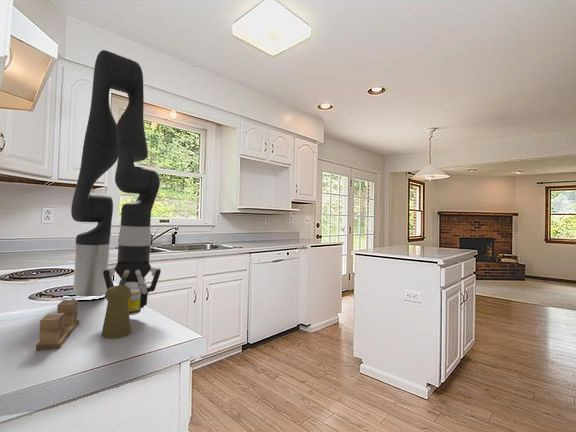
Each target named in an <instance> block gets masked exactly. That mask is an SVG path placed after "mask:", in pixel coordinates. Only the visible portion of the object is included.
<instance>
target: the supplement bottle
mask: <svg viewBox="0 0 576 432" xmlns="http://www.w3.org/2000/svg"><path fill="white" fill-rule="evenodd" d="M124 286H127V287H129V289H130V290H131V295H130V298H129V299H128V307H129V316H134V315H139V314H140V313H141V311H142V308H141V294H142V290H141V287H140V285H139V282H125V284H124Z"/></svg>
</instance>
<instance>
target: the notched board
mask: <svg viewBox="0 0 576 432" xmlns="http://www.w3.org/2000/svg"><path fill="white" fill-rule="evenodd" d="M78 302H79V301H78V300H74V299H63V300H61V302H59V303H58V304H57V311H56V312H54V313H46V315H44V316H43V317H42V318H41V319H40V320H39V334H38V335H39V336H38V343H37V344H36V345H35V351H43V350H45V351H46V350H55V349H56V350H58V349H59V350H60V348H61V347H62V346H63V345H64V343H65V342H66V340H68V338H69V337H70V335H71V334H72V333H73V332H74V330H75V329H76V328H77V327H78V326H79V324H80V319H78V305H79V303H78Z"/></svg>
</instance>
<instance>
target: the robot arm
mask: <svg viewBox="0 0 576 432" xmlns="http://www.w3.org/2000/svg"><path fill="white" fill-rule="evenodd" d="M92 78H93V79H92V91H91V92H92V93H91V102H90V110H89V115H88V120H87V126H86V130H85V136H84V141H83V146H82V152H81V161H80V166H79V167H80V169H79V174H78V178H77V183H76V186H75V190H74V194H73V196H72V197H73V198H72V202H71V206H70V207H71V210H70V213H71V217H72V220H73V221H75V222H77V223H97V225H96V226H95V227H94V228H92V229H91V230H90V229H89V230H87V231H85V232H81V233H79V234H77V235H76V237H75V247H74V248H75V252H74V253H75V255H74V271H73V273H74V275H73V277H74V278H73V291H72V292H73V293H72V295H73V294H74V295H76V296H102V295H106V291H107V289H108V288H110V287H113V286H115V285H114V281H113V276H114V274H115V273H116V274H117V276H119V277H120V280H119V282H118V285H117V286H124V284H125V282H139V285H140V287H141V290H142V294H141V309H143V308H145V306H147V304H148V294H149V293H151V292H154V291H155V290H156V288H157V284H158V281H159V278H160V275H161V272H162V270H161V268H160V267H157V268H156V267H152V265H151V264H150V258H151V257H150V256H151V255H150V253H151V252H150V251H151V241H152V240H151V238H152V236H151V235H152V234H151V220H152V219H151V218H152V210H153V207H154V204H155V200H156V198H157V196H158V192H159V188H160V185H161V181H160V180H161V179H160V177H159V174H158V173H157V171H156V170H155V169H152V168H147V167H141V166H135V163H139V162H142V161H146V159H147V158H148V157H149V150H148V143H147V138H146V133H145V123H144V108H145V107H144V102H145V101H144V100H145V99H144V74H143V70H142V66H141V64H140V63H139V62H137V61H136V60H133V59H131V58H129V57H126V56H124V55H121V54H118V53H115V52H112V51H110V50H105V49H103V50H100V51H99V52H98V55H97V56H96V60H95V62H94V68H93V77H92ZM111 90H115V91H118V92H120V93H121V92H122V93H125V94H127V97H128V104H127V106H126V108H125V110H124V112H122V114H121V116H120V117H119V118H118V120H117V121H116V119H115V117H114V115H113V111H112V109H111V106H110V91H111ZM116 162H117V166H116V170H115V176H114V182H115V185H116V187H117V188H118V190H120V191H121V192H122V193H125V194H126V193H127V194H133V195H134V194H136V195H138V194H139V195H138V196H137V198H136V201H132V202H126V203H124V204H123V205H122V207H121V212H120V229H119V232H118V239H117V242H118V247H117V248H118V249H117V263H116V265H115V267H110V266H109V262H110V242H111V235H112V233H111V231H112V230H111V229H112V222H113V214H114V213H113V212H114V211H113V210H114V202H113V198H112V197H111V195H110V194H105V193H92V192H91V191H92V188H93V187H94V184H96V182H97V181H98V179H100V178H101V177H102V176H103V175H104V174H105V173H106V172H107V171H109V170H110V169H111V168H113V166H114V165H115V163H116ZM109 267H110V268H109ZM150 272H151V276H152V281H151V284H150V285H149V286H147V281H146V276H147V275H148V274H149V273H150Z"/></svg>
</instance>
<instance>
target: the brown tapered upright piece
mask: <svg viewBox="0 0 576 432" xmlns="http://www.w3.org/2000/svg"><path fill="white" fill-rule="evenodd" d="M130 295H131V290H130V289H129V287H127V286H118V285H114V286H113V287H110V288H108V289H107V291H106V295H105V296H106V297H105V300H106V301H107V306H106V311H105V314H104V320H103V325H102V329H101V338H103V339H108V340H114V339H122V338H124V337H127V336H129V335H131V331H132V329H131V322H130V321H131V319H130V315H129V307H128V299H129V298H130Z"/></svg>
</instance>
